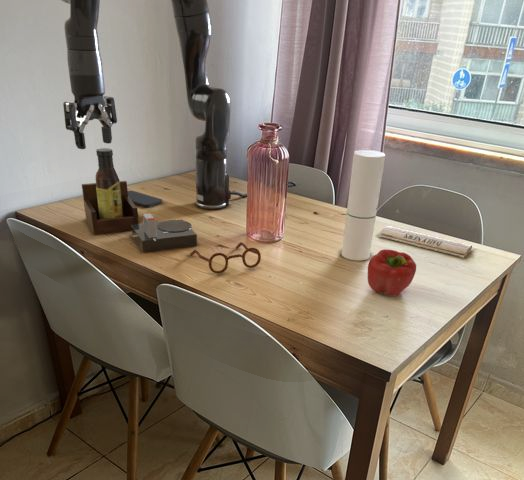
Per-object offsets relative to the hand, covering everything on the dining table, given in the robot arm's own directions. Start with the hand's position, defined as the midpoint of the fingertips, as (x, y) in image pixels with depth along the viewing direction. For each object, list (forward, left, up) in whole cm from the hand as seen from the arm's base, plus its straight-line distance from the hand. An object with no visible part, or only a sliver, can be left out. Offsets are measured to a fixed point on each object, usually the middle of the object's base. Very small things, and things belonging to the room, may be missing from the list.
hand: (94, 145), depth 133 cm
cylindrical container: (-56, +35, -22) cm, 70 cm away
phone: (-15, -25, -22) cm, 36 cm away
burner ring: (-16, +9, -19) cm, 27 cm away
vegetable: (-51, +56, -22) cm, 79 cm away
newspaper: (-79, +35, -22) cm, 89 cm away
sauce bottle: (-3, -6, -22) cm, 23 cm away
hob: (-13, +10, -22) cm, 28 cm away
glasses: (-23, +28, -22) cm, 43 cm away
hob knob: (-9, +13, -19) cm, 25 cm away
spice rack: (-3, -6, -22) cm, 23 cm away
